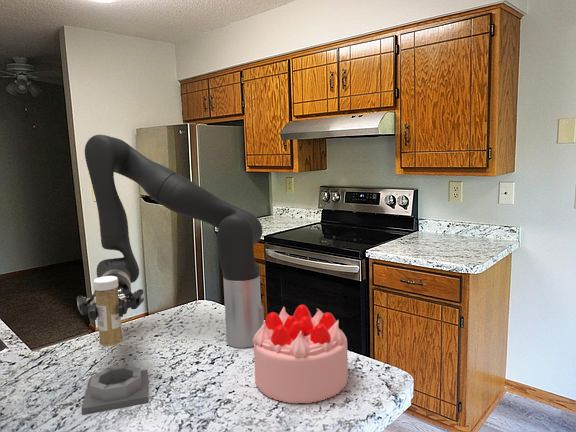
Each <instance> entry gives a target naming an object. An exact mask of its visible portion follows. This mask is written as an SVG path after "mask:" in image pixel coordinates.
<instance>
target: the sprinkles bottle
mask: <svg viewBox="0 0 576 432" xmlns="http://www.w3.org/2000/svg"><path fill="white" fill-rule="evenodd" d="M92 283H93V290H94V291H95V295H96V309H97V319H96V320H97V326H98V334H99V343H98V344H99V345H100V346H103V347H112V346H116V345H118V344H120V343H122V342H123V340H124V338H123V333H122V319H121V318H122V317H119V309H118V306H119V297H118V278H117V277H115V276H104V277H99V278H97V277H96V278H95V279H94V280H93V282H92Z"/></svg>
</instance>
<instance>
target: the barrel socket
mask: <svg viewBox="0 0 576 432" xmlns="http://www.w3.org/2000/svg"><path fill="white" fill-rule="evenodd" d="M141 368H142V367H141ZM141 368H140V367H138V366H134V365H129V364H123V365H117V366H112V367H107V368H105V369H103V370H101V371H99V372H97V373H95V374H94V375H92V376H91V378H88V382H87V384H86V389H85V393H84V398H83V401H82V405H81V410H80V411H81V415H87V414H92V413H93V414H94V413H98V412H104V411H109V410H115V409H120V408H126V407H132V406H136V405H141V404H142V405H143V404H146V403H149V371H148V370H149V369H141Z"/></svg>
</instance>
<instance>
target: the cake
mask: <svg viewBox="0 0 576 432" xmlns="http://www.w3.org/2000/svg"><path fill="white" fill-rule="evenodd" d="M316 310H317V311H316V313H315V314H314V315H313V317H312V314H311V312H310V310H309V308H308V307H307V306H306V305H305V304H300V305H298V306H297V307H296V308H295V310H294V313H293V315H289V314H288V312H287V311H286V307H285V306H283V307H282V309H281V310H280V312H279V314H278V313H277V312H275V311H271V312H269V313H268V314H267V316H266V318H265V319H264V324H263V325H262V326H261V328H260V329H259V330H258V331H257V333H256V334H255V336H254V338H253V343H254V346H253V357H254V359H253V361H254V363H253V364H254V382H255V385H256V387H257V388H258V390H259V391H260V392H261V393H262V394H264V395H265V396H266V397H268V398H270V399H272V398H273V399H272V400H276V401H278V400H279V402H281V401H283V403H286V402H287V404H288V403H289V404H298V403H306V404H312V402H314V403H318V402H317V401H319V402H322V401H321V400H324V401H326V400H328V399H327V398H329V399H331V398H333V397H335V396H337V395H338V394H340V393H341V392H342V391H341V390H344V388H345V387H346V386H347V383H348V377H349V376H348V374H349V373H348V372H349V371H348V367H349V365H348V339H347V336H346V335H345V333H344V332H343V330H342V329H340V328H339V323H340V321H339V319H337V320H336V318H335V316H334V315H333V314H332V313H331V312H323V311H322V310H320V309H319V308H316ZM340 391H341V392H340ZM339 392H340V393H339ZM336 394H337V395H336ZM332 396H333V397H332ZM330 397H331V398H330ZM325 399H326V400H325Z"/></svg>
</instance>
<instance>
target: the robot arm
mask: <svg viewBox="0 0 576 432" xmlns="http://www.w3.org/2000/svg"><path fill="white" fill-rule="evenodd" d="M84 158H85V162H86V167H87V171H88V174H89V178H90V182H91V187H92V191H93V193H94V197H95V203H96V206H97V207H96V208H97V212H98V213H97V214H98V220H99V224H98V225H99V232H100V244H101V248H103V249H105V250H107V251H108V250H110V251H118V252H120V253H121V254H122V255H123V257H117V258H116V257H115V258H106V259H103V260H101V261H99V262H98V264H97V266H96V278H99V277H104V276H115V277H117V278H118V297H119V306H118V309H119V317H121V318H123V317H124V315H126V314H128V310H129V309H131V310H136V309H138V308H139V307H140V305H142V303H144V301H145V298H144V297H145V294H144V289H141V288H140V289H137V290H135V291H133V292H132V283H135V282H136V281H137V280H138V279H139V277H140V268H139V264H138V262H137V260H136V258H135V254H134V252H133V249H132V246H131V242H130V235H129V223H128V216H127V213H126V209H125V207H124V204H123V203H122V201H121V199H120V198H121V197H120V196H119V194H118V191H117V188H116V183H115V176H114V175H115V174H114V173H116V174H119V175H121V176H123V177H125V178H126V179H129V180H132V181H133V182H135V183H137V184H138V186H140V187H141V188H142V189H143V190H144V192H145V193H146V194H147V195H148V196H149V197H150V198H151V199H152V200H154V201H155V202H156V203H158V204H160V205H161V206H162V207H165V208H166V209H168V210H170V211H171V212H173V213H176V214H179V215H181V216H184V217H187V218H190V219H193V220H194V219H195V220H198V221H201V222H204V223H207V224H209V225H210V226H213V227H215V228H216V229H217V233H216V234H217V236H216V237H217V249H218V261H219V265H220V268H221V271H222V275H223V276H222V279H223V295H224V316H225V337H226V343H227V345H228V346H229V347H233V348H239V349H243V348H244V349H245V348H251V347H254V343H253V338H254V336H255V334H256V333H257V331H258V330H259V329H260V328H261V326H262V325H263V324H264V322H265V319H264V306H263V304H262V301H261V299H262V298H261V297H262V296H261V294H262V293H261V271H260V270H261V269H260V265H259V264H258V263H257V262H256V260H255V249H254V245H256V244H257V243H258V242H259V241H260V240H261V238H262V237H263V236H262V235H263V232H264V231H263V226H262V223H261V221H260V220H259V219H258V217H256V216H255V214H253V213H251V212H249V211H247V210H246V209H242V208H240V207H238V206H235V205H233V204H231V203H229V202H226V201H224V200H222V199H221V198H219V197H217V196H215V194H213V193H211V192H209V191H208V190H206V189H204V188H203V187H202V186H200V185H198V184H197V183H195V182H193V180H190V179H188V178H187V177H185V176H183V175H182V174H179V172H176V171H174V170H172V169H171V168H168V167H167V166H164V165H163V164H160V163H158V162H155V161H153V160H151V159H150V158H148V157H147V156H145V155H143V154H142V153H141V152H139V151H138V150H136V149H135V148H134V147H133V146H131V145H130V144H128V143H127V142H126V141H125V140H122V139H121V138H117V137H113V136H109V135H105V134H95V135H93V136H91V137H90V138H88V140H87V141H86V143H85V146H84ZM76 302H77V303H76V304H77V309H78V310H79V313H80V315H82V316H87V315H88V318H89V319H91V321H97V320H98V319H97V309H96V295H95V290H94V291H93V294H91V295H90V296H89V297H86V296H83V295H78V296H77V297H76Z"/></svg>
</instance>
